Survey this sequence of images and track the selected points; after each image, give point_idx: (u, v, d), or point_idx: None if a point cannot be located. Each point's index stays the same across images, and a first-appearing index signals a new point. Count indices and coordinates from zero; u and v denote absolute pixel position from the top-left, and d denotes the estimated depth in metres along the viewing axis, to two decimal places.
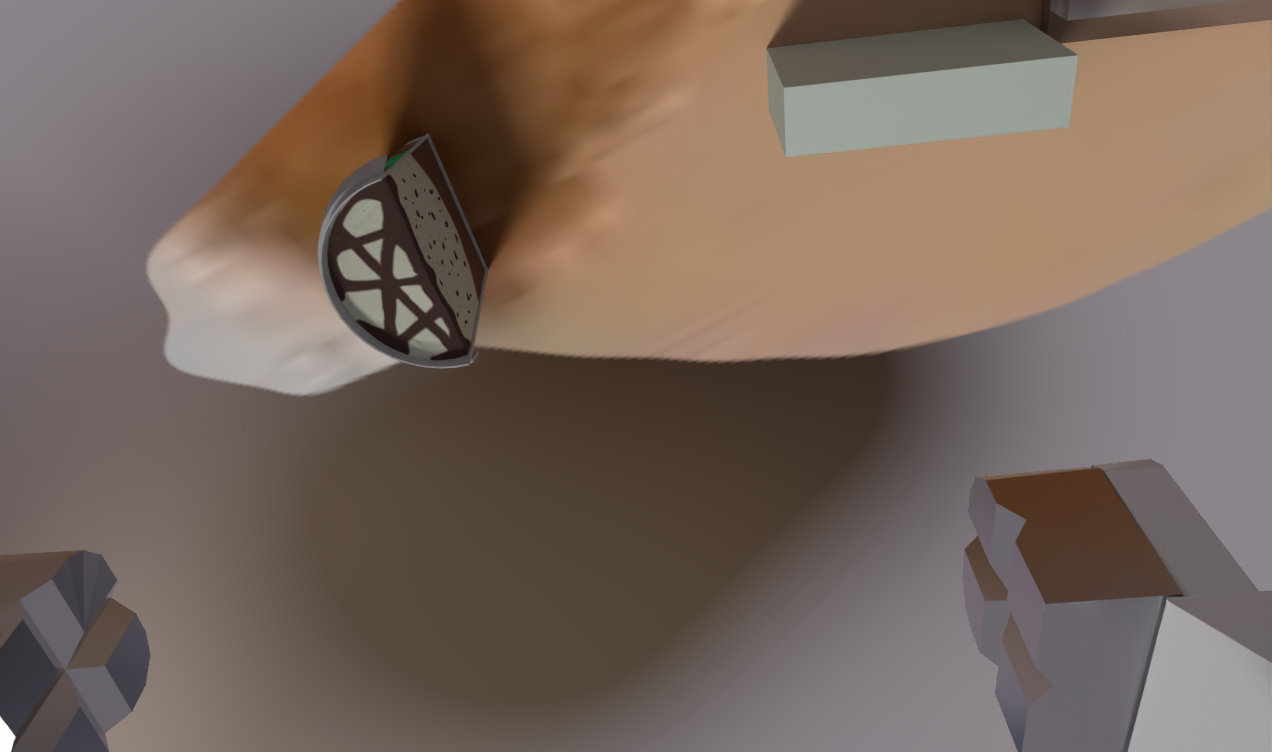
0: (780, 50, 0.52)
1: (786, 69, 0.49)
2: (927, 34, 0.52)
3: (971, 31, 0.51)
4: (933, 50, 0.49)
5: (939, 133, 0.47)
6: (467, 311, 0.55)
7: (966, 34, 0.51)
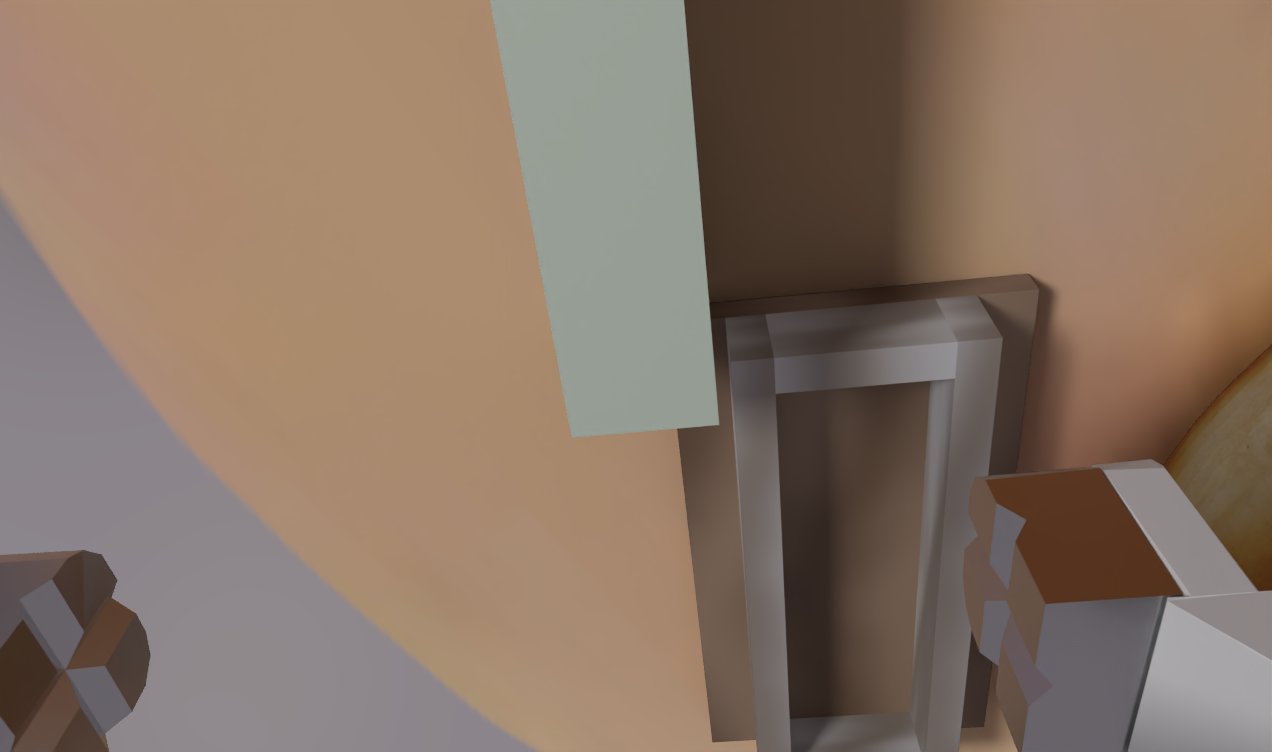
0: None
1: None
2: None
3: None
4: None
5: (542, 182, 0.19)
6: None
7: None
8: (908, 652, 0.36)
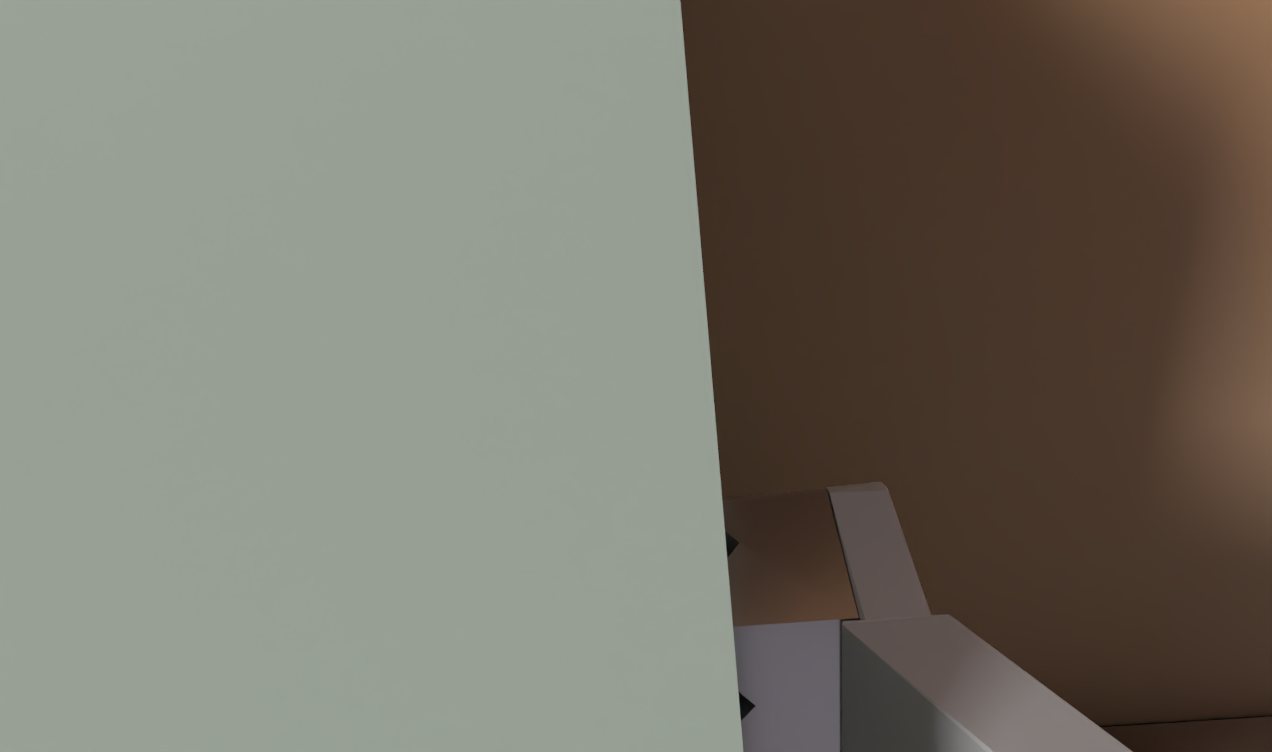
0: None
1: None
2: None
3: None
4: None
5: None
6: None
7: None
8: None
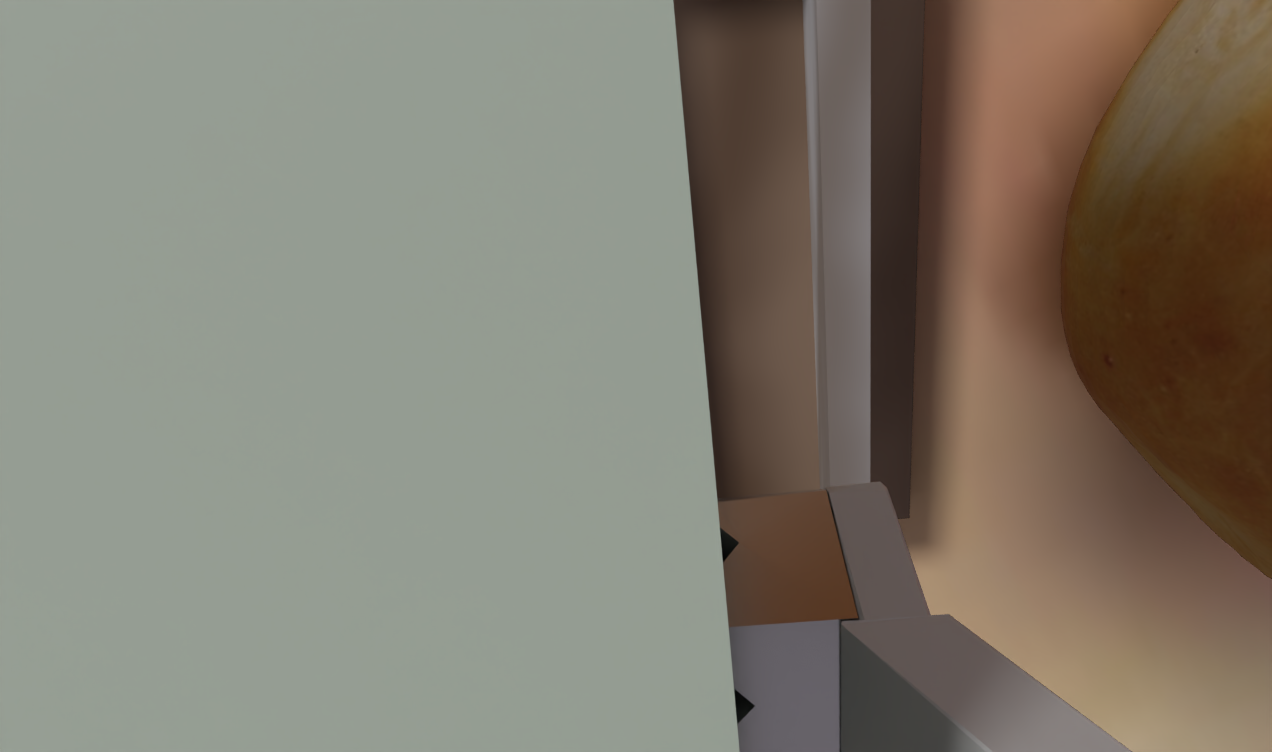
0: None
1: None
2: None
3: None
4: None
5: None
6: None
7: None
8: (811, 415, 0.30)
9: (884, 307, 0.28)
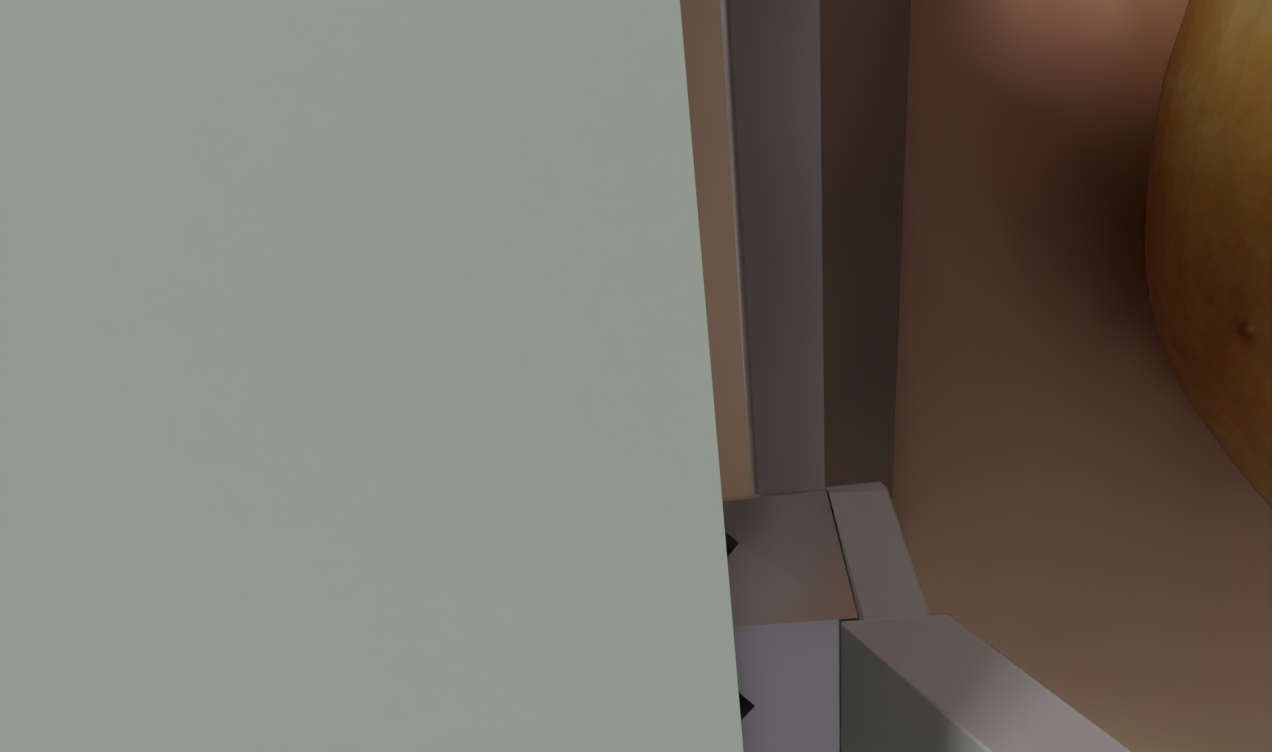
0: None
1: None
2: None
3: None
4: None
5: None
6: None
7: None
8: (737, 421, 0.20)
9: (850, 249, 0.17)
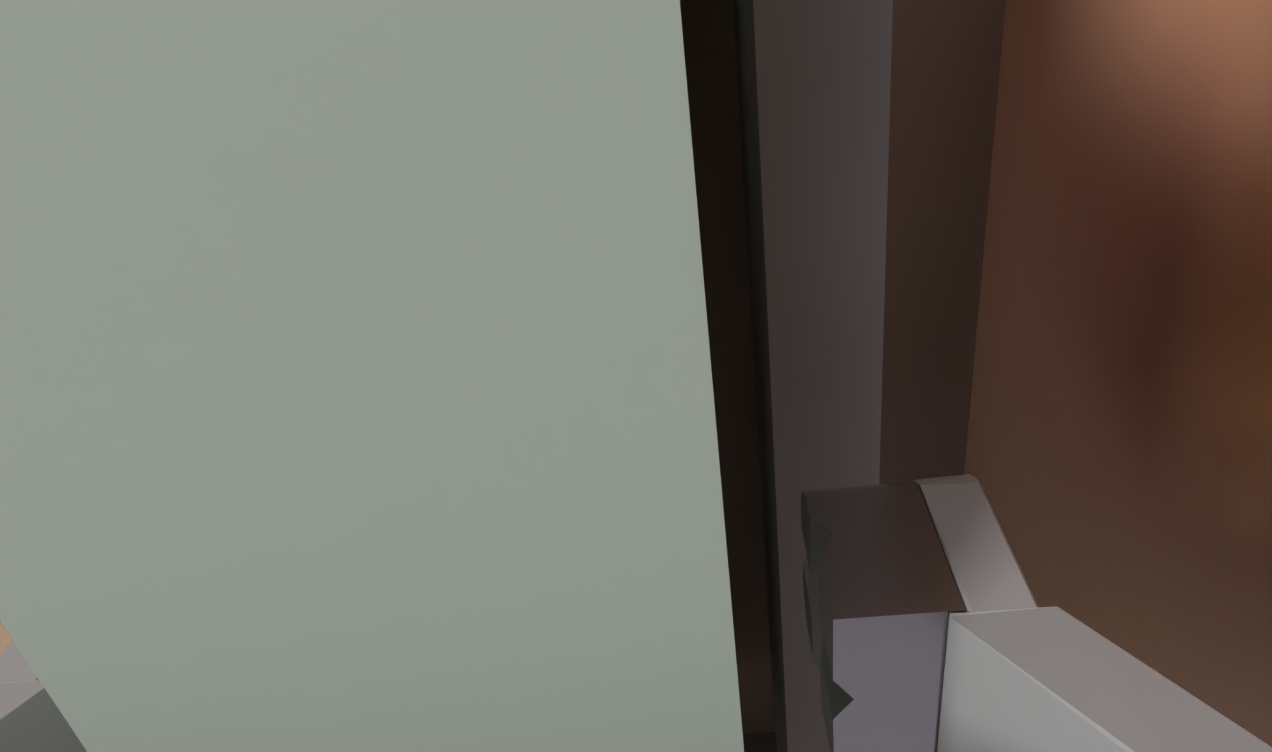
0: None
1: None
2: None
3: None
4: None
5: None
6: None
7: None
8: (755, 594, 0.16)
9: (905, 397, 0.13)
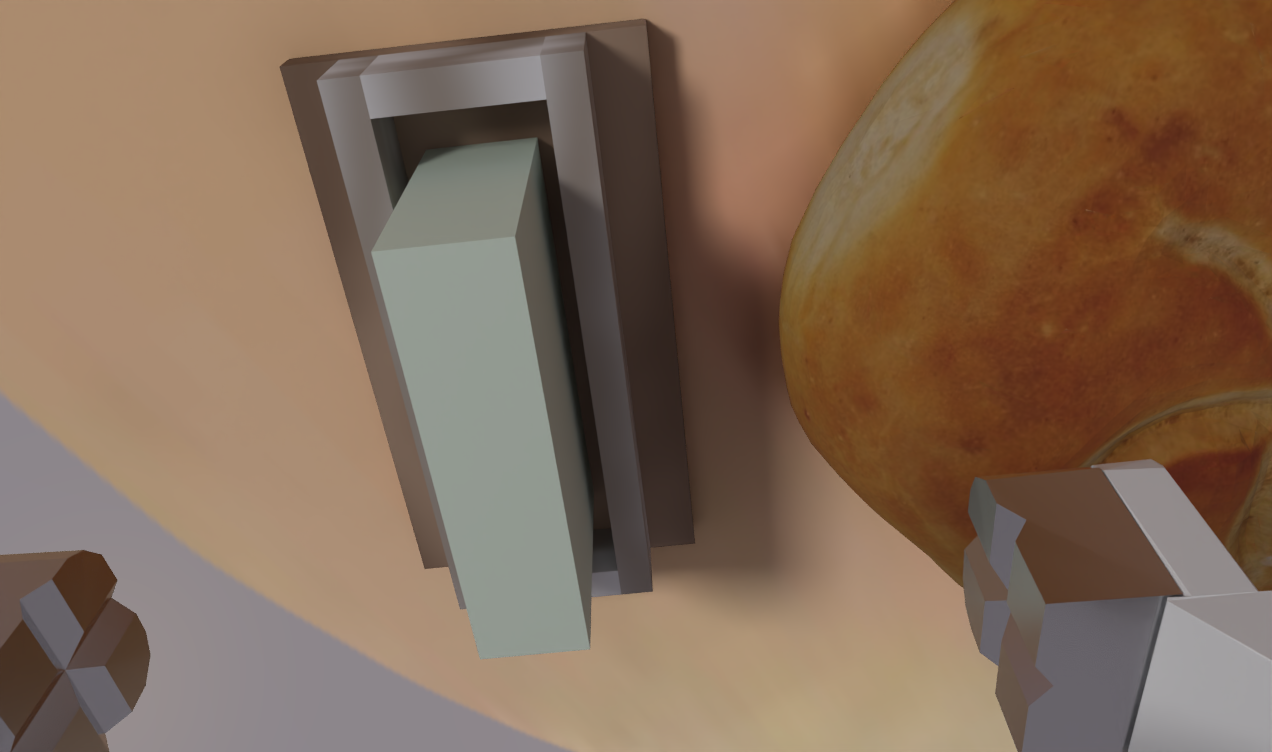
0: (538, 168, 0.29)
1: (528, 209, 0.26)
2: (573, 389, 0.33)
3: (582, 448, 0.34)
4: (568, 431, 0.30)
5: (451, 500, 0.27)
6: None
7: (580, 446, 0.33)
8: None
9: (652, 367, 0.34)
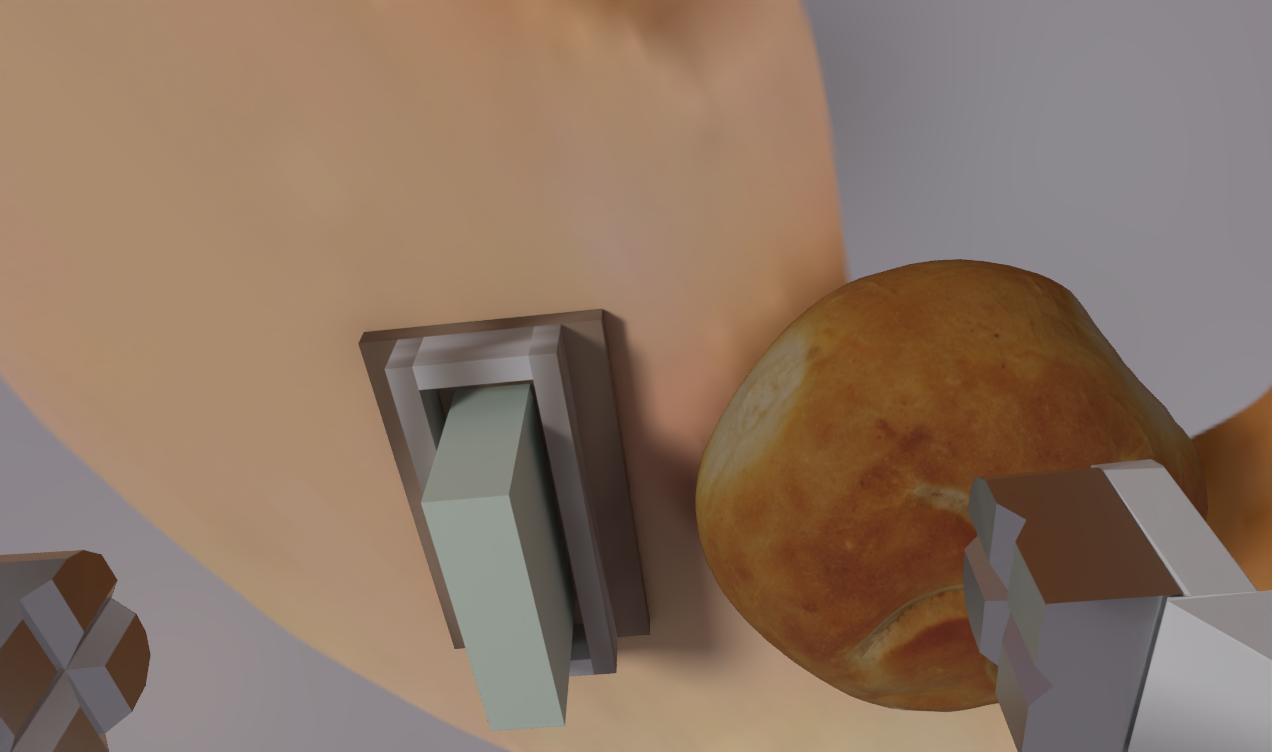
0: (530, 407, 0.43)
1: (520, 456, 0.40)
2: (557, 539, 0.47)
3: (564, 577, 0.48)
4: (550, 579, 0.44)
5: (470, 637, 0.41)
6: None
7: (562, 578, 0.48)
8: None
9: (614, 521, 0.48)
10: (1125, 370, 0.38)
